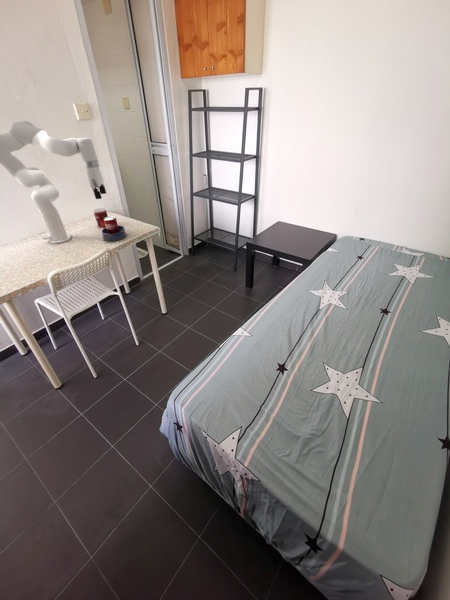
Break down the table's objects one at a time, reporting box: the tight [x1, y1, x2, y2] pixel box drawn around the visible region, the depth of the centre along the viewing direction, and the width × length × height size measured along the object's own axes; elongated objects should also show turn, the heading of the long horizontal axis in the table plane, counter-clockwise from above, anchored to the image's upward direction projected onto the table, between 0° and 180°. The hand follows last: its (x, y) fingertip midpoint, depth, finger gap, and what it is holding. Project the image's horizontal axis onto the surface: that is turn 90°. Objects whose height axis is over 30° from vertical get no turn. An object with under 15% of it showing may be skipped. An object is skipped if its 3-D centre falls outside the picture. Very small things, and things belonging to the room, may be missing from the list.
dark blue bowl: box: [101, 224, 127, 242], centre depth 179 cm, size 14×14×5 cm
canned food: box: [93, 207, 109, 229], centre depth 194 cm, size 8×8×11 cm
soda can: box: [104, 215, 120, 234], centre depth 177 cm, size 7×7×12 cm
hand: (101, 196), depth 164 cm, fingers open, 9 cm apart
